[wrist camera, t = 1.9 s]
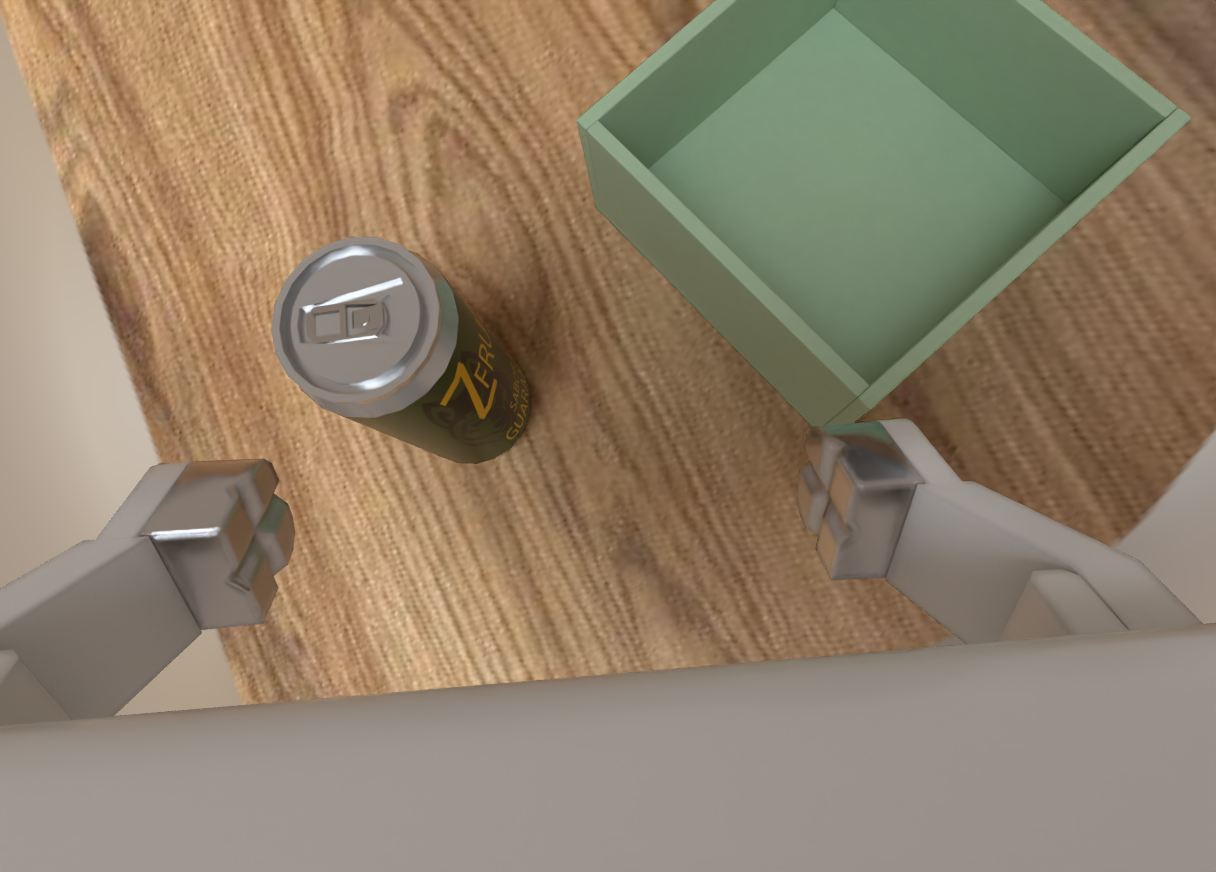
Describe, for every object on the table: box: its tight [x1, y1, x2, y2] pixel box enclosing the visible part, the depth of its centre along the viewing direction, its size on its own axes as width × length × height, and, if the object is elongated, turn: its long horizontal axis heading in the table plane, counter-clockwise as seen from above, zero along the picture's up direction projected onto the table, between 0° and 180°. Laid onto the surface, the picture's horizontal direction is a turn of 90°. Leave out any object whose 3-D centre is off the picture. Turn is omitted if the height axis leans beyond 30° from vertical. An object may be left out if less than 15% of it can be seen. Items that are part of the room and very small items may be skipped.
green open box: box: [577, 0, 1191, 426], centre depth 27 cm, size 15×15×7 cm
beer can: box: [271, 237, 531, 464], centre depth 25 cm, size 5×5×12 cm
